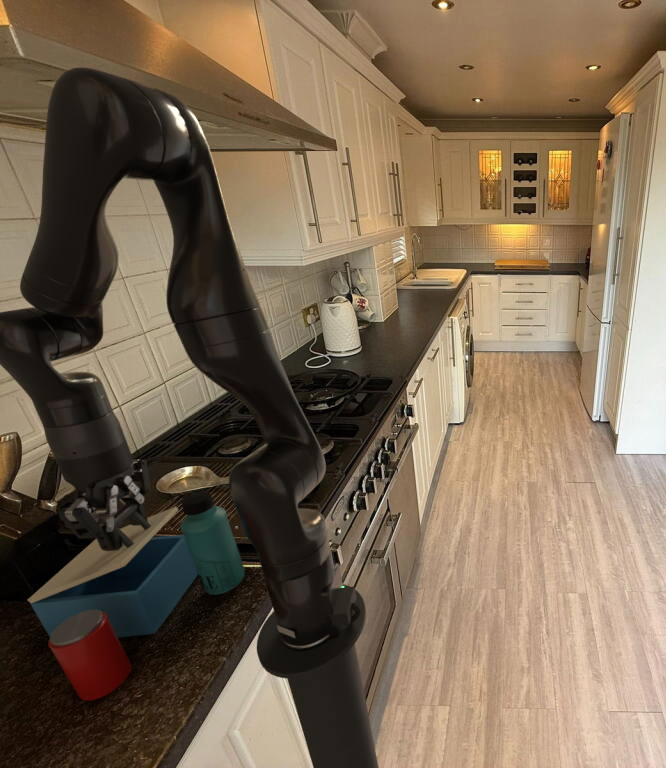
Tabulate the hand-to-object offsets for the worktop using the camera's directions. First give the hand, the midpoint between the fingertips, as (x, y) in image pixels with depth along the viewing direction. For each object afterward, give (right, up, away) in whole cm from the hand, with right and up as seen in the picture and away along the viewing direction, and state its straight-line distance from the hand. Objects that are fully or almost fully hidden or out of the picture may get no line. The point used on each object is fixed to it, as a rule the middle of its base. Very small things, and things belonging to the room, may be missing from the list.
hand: (127, 535), depth 66 cm
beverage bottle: (+10, -13, +8) cm, 18 cm away
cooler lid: (-3, -3, +1) cm, 4 cm away
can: (+3, -18, -7) cm, 20 cm away
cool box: (-3, -14, +5) cm, 15 cm away
